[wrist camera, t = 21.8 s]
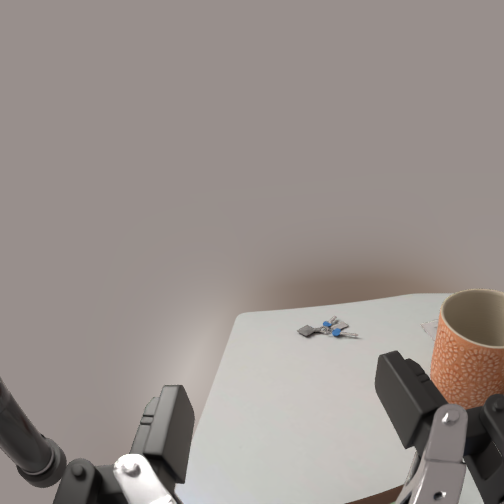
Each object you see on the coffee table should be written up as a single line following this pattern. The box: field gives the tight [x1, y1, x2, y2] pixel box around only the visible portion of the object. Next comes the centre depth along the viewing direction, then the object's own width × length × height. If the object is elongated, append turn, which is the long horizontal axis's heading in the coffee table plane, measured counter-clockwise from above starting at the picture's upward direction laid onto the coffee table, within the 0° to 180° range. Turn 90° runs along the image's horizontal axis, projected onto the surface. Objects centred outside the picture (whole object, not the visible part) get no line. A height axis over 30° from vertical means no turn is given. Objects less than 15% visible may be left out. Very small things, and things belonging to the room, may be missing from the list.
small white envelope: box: [420, 319, 439, 341], centre depth 49 cm, size 7×12×2 cm, turn 87°
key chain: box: [297, 316, 358, 336], centre depth 60 cm, size 14×8×1 cm, turn 70°
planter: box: [430, 289, 504, 409], centre depth 29 cm, size 17×17×15 cm
